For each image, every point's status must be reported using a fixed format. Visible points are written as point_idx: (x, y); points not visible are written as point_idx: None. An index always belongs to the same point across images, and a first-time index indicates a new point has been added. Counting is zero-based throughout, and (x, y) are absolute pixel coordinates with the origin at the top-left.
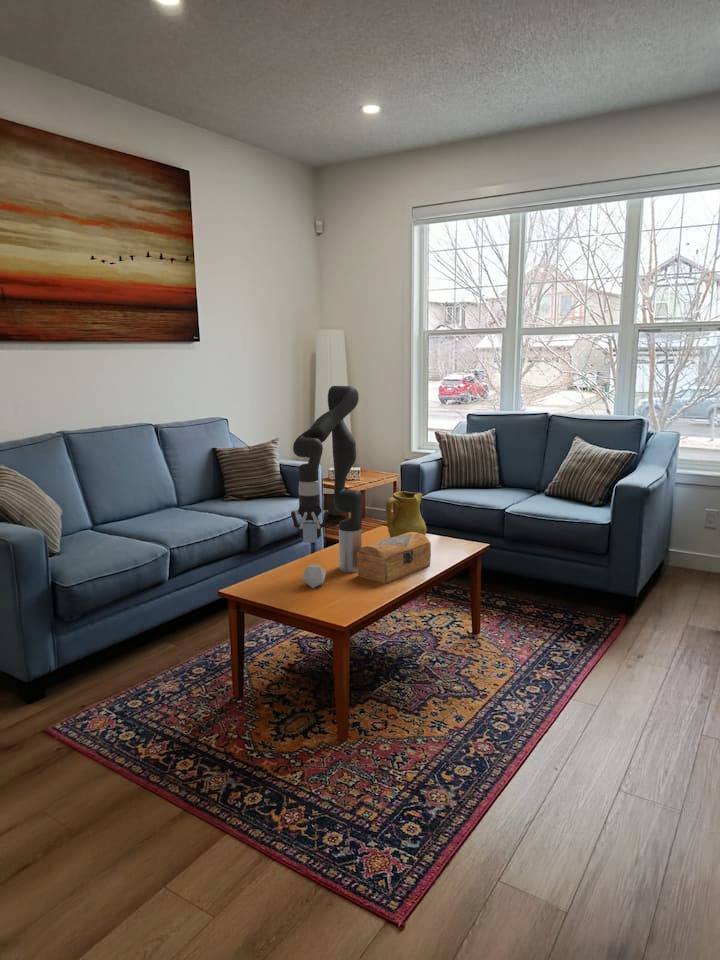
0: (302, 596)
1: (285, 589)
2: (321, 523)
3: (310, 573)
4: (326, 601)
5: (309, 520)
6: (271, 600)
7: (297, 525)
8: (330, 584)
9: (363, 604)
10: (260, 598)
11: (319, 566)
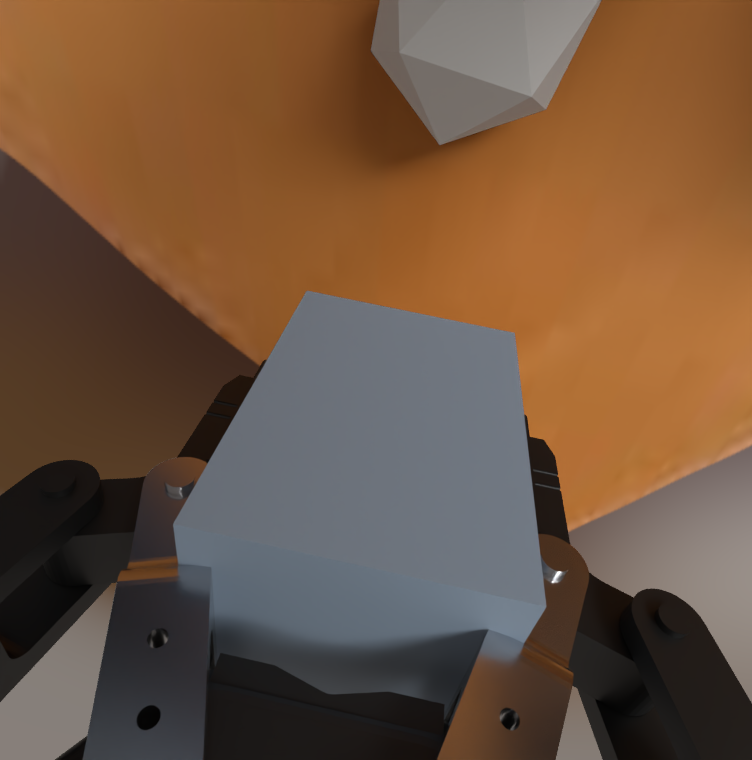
0: (371, 232)
1: (260, 66)
2: (602, 646)
3: (433, 114)
4: None
5: (326, 560)
6: (202, 256)
7: (107, 583)
8: (616, 3)
9: (671, 414)
10: (135, 212)
11: (542, 5)
